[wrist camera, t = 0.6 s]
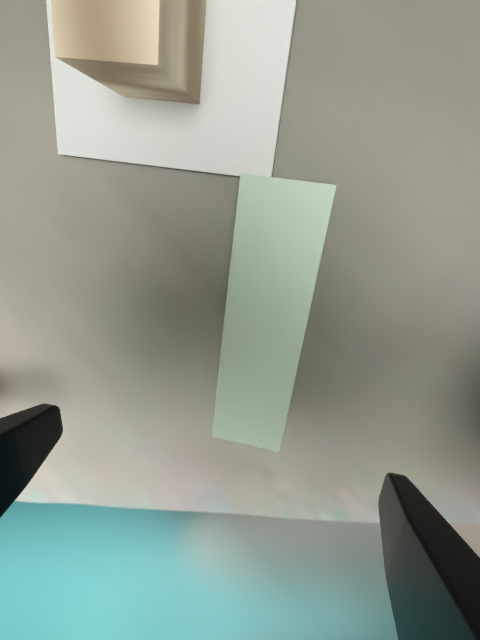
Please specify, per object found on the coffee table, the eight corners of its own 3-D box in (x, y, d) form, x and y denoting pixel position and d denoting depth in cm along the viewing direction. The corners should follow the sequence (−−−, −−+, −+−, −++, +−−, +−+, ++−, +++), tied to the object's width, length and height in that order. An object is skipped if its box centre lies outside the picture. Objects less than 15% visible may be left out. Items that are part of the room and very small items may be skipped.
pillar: (206, 0, 15) (161, -93, 10) (199, 104, 16) (158, 65, 11) (123, -4, 15) (43, -95, 10) (124, 97, 17) (55, 56, 12)
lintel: (329, 188, 17) (336, 185, 13) (283, 410, 22) (279, 452, 18) (253, 179, 17) (240, 173, 14) (226, 397, 22) (210, 436, 19)
